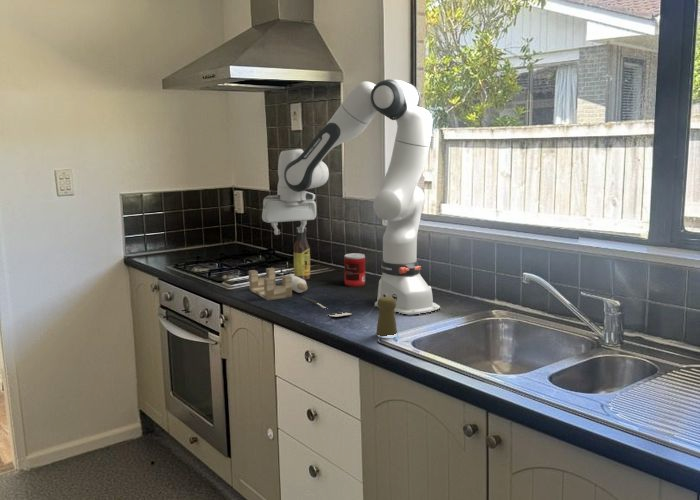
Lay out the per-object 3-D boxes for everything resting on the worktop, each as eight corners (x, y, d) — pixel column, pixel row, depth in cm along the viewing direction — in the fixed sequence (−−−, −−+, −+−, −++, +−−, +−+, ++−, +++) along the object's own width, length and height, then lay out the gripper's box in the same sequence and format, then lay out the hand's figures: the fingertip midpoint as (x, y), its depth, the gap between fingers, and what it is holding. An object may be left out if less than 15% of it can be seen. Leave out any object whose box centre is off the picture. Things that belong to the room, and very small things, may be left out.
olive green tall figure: (398, 338, 186) (399, 300, 184) (377, 339, 186) (377, 300, 184) (395, 331, 192) (395, 294, 190) (374, 332, 192) (374, 295, 190)
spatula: (335, 321, 204) (335, 316, 204) (295, 299, 230) (295, 295, 229) (353, 318, 207) (353, 313, 207) (311, 297, 233) (311, 293, 232)
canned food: (361, 281, 253) (361, 252, 251) (368, 285, 246) (368, 256, 244) (341, 282, 251) (341, 253, 249) (348, 287, 243) (348, 258, 241)
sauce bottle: (307, 281, 254) (306, 229, 250) (292, 280, 255) (290, 228, 251) (312, 277, 260) (311, 226, 256) (296, 276, 261) (295, 226, 258)
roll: (312, 292, 235) (309, 279, 234) (299, 296, 233) (296, 283, 232) (293, 283, 249) (290, 270, 248) (281, 287, 247) (278, 274, 246)
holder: (292, 297, 231) (291, 277, 230) (267, 300, 227) (267, 280, 225) (272, 286, 246) (271, 267, 245) (249, 289, 242) (248, 270, 241)
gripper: (267, 197, 226) (266, 237, 229) (319, 194, 238) (317, 233, 241) (259, 194, 231) (258, 233, 234) (310, 192, 243) (308, 230, 246)
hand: (288, 233), depth 238 cm, fingers open, 8 cm apart
